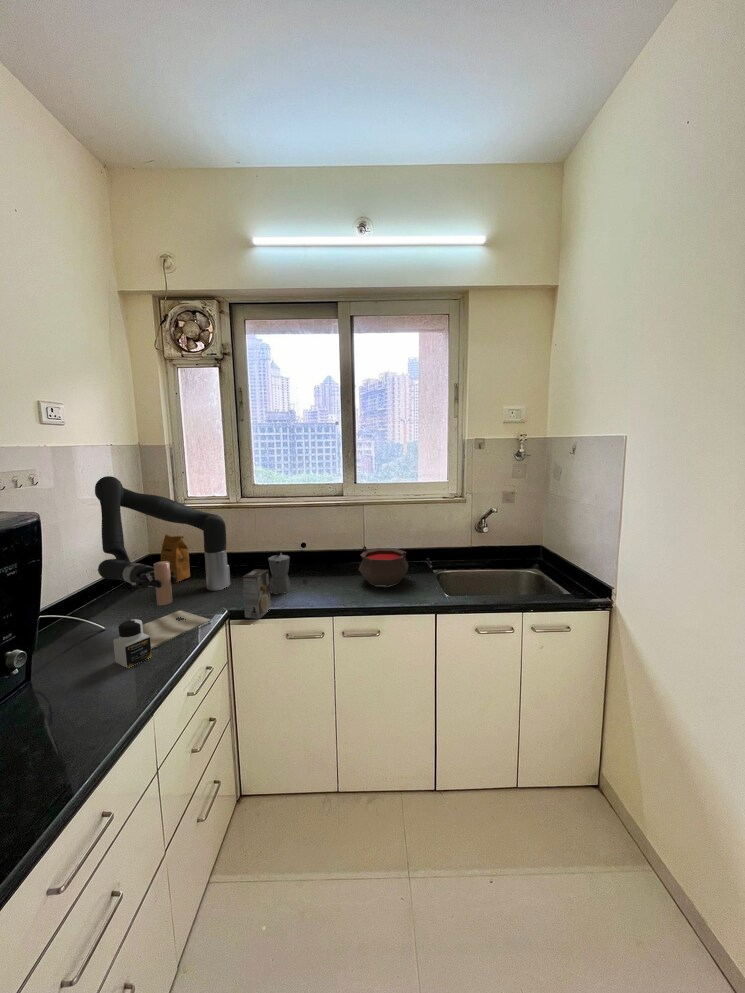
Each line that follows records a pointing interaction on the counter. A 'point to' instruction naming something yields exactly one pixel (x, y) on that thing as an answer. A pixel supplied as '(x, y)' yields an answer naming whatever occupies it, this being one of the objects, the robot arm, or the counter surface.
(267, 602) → the coffee box
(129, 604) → the counter surface
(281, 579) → the coffeepot
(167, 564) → the terracotta canister
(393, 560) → the brown cooking pot
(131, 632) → the medicine bottle
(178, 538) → the coffee package
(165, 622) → the ash board
